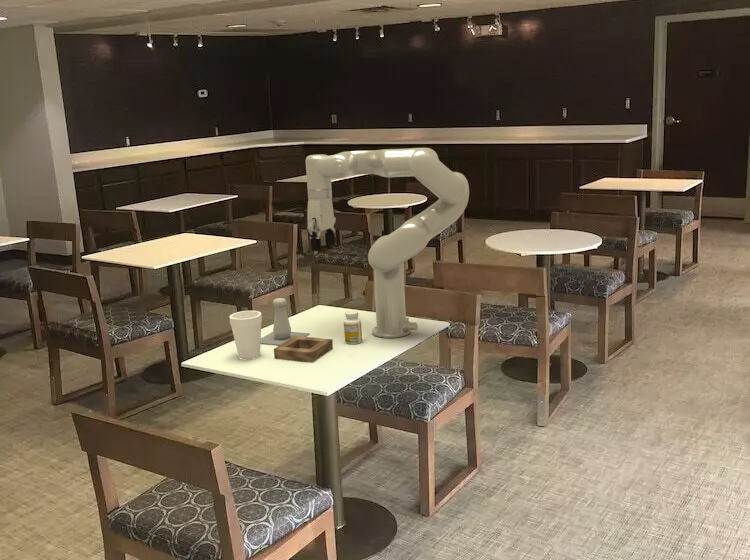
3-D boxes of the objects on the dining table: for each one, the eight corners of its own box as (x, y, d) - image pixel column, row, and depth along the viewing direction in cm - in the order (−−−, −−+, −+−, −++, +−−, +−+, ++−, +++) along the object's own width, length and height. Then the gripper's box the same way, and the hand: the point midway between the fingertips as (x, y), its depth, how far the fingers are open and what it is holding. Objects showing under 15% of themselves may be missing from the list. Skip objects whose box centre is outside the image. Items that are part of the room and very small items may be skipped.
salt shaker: (294, 335, 249) (290, 296, 246) (288, 340, 243) (285, 301, 240) (276, 334, 250) (273, 296, 247) (271, 340, 245) (267, 301, 242)
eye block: (332, 348, 235) (332, 339, 234) (312, 362, 223) (312, 352, 222) (295, 345, 240) (295, 335, 239) (274, 358, 228) (273, 348, 228)
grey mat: (309, 334, 250) (309, 333, 250) (289, 346, 238) (289, 345, 238) (275, 331, 255) (275, 330, 255) (254, 343, 244) (254, 342, 244)
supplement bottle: (352, 338, 244) (350, 309, 241) (365, 341, 240) (364, 311, 238) (341, 343, 240) (339, 313, 237) (354, 345, 236) (352, 315, 234)
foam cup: (246, 349, 238) (242, 309, 235) (271, 352, 234) (267, 312, 231) (227, 359, 230) (223, 318, 227) (252, 363, 225) (248, 320, 222)
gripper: (322, 190, 249) (325, 242, 253) (296, 198, 234) (300, 253, 238) (342, 190, 246) (345, 243, 250) (317, 198, 231) (321, 253, 235)
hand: (323, 247), depth 244 cm, fingers open, 9 cm apart
